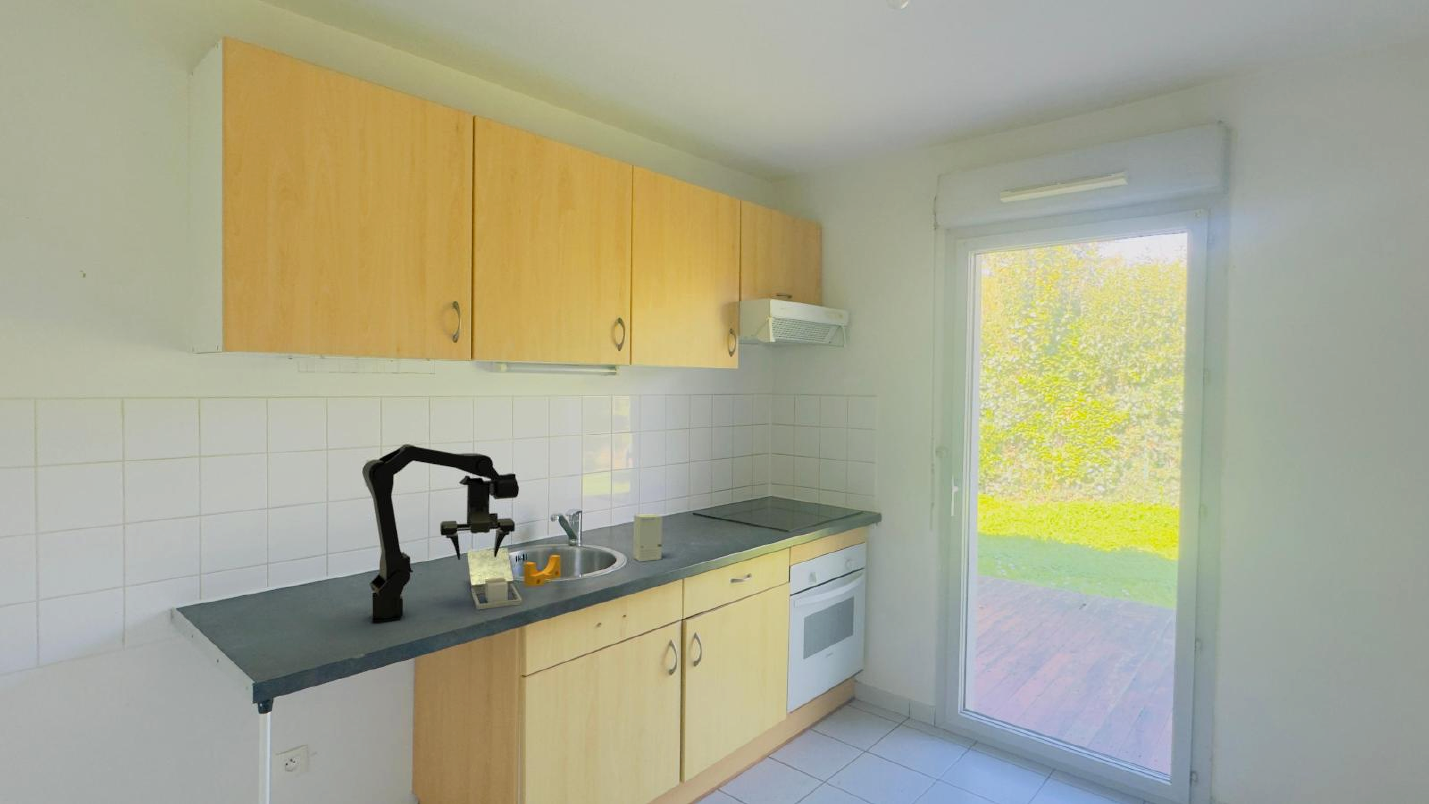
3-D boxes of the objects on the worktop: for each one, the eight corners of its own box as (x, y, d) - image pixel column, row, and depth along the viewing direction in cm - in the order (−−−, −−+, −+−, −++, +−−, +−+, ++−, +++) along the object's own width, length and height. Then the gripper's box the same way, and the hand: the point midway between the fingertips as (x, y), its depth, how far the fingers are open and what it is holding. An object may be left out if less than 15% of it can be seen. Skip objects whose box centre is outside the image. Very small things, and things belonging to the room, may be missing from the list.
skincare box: (639, 562, 232) (639, 517, 231) (632, 558, 237) (632, 514, 237) (662, 559, 236) (663, 515, 235) (655, 555, 241) (655, 512, 241)
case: (477, 609, 183) (476, 575, 183) (467, 581, 208) (467, 551, 208) (521, 604, 188) (521, 570, 188) (507, 577, 213) (507, 547, 212)
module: (488, 604, 188) (488, 585, 188) (485, 597, 194) (485, 578, 194) (507, 602, 190) (507, 583, 190) (503, 595, 196) (503, 576, 196)
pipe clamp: (534, 587, 204) (534, 565, 203) (524, 585, 206) (524, 563, 206) (564, 578, 214) (564, 556, 213) (554, 575, 216) (554, 554, 216)
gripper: (442, 507, 179) (441, 568, 179) (518, 504, 186) (517, 562, 187) (440, 500, 189) (439, 558, 189) (512, 497, 197) (511, 553, 197)
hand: (477, 558), depth 190 cm, fingers open, 9 cm apart
